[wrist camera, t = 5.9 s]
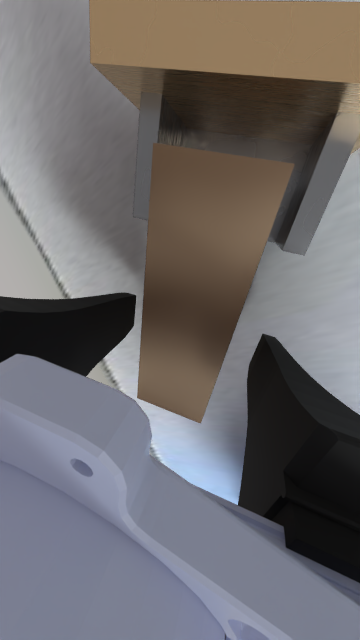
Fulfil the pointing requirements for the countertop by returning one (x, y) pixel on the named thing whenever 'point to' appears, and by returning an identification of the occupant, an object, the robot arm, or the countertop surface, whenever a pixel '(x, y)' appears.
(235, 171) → the tan rectangular block
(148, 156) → the bracket
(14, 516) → the robot arm
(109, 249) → the countertop surface
